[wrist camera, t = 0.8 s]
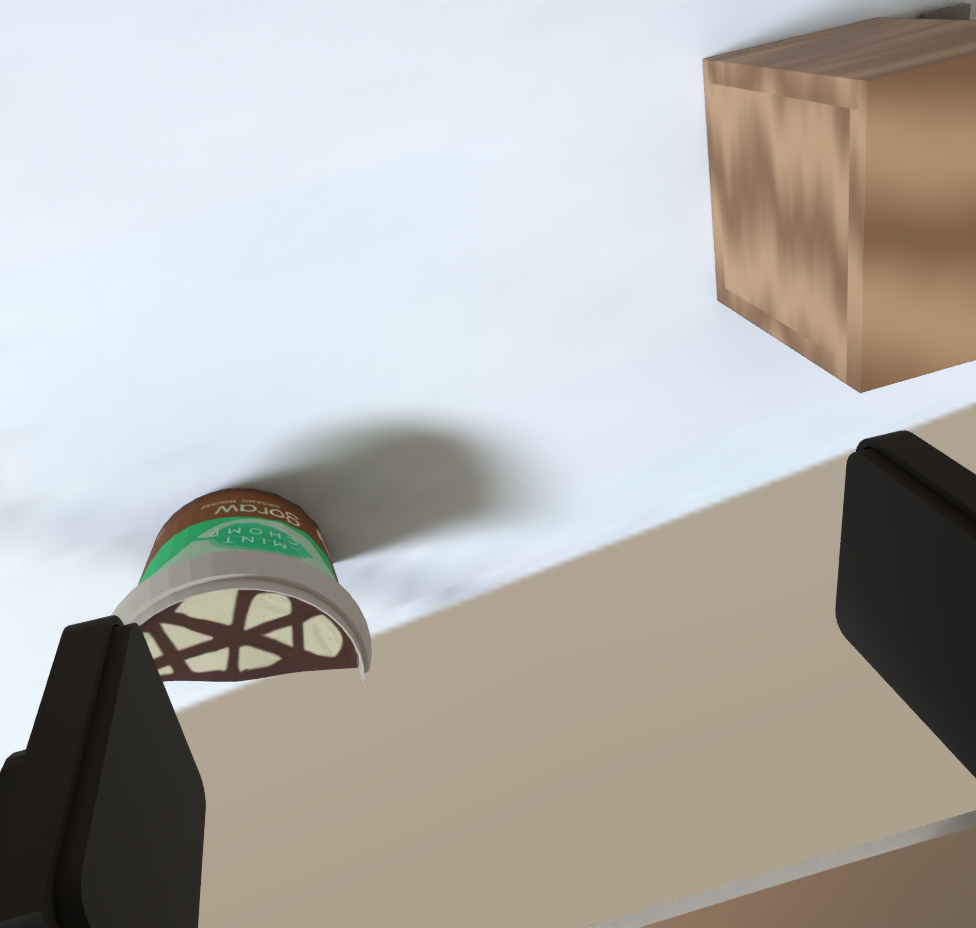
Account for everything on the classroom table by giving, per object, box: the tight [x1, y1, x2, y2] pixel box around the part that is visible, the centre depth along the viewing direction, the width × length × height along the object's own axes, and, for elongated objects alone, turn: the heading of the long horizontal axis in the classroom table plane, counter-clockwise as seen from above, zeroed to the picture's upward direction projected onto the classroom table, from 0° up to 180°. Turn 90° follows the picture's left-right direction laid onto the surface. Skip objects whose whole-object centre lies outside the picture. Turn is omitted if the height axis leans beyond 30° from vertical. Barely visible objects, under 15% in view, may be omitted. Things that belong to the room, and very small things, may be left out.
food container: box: [111, 488, 372, 682], centre depth 43 cm, size 12×6×10 cm, turn 85°
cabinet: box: [703, 4, 976, 393], centre depth 40 cm, size 12×14×13 cm
